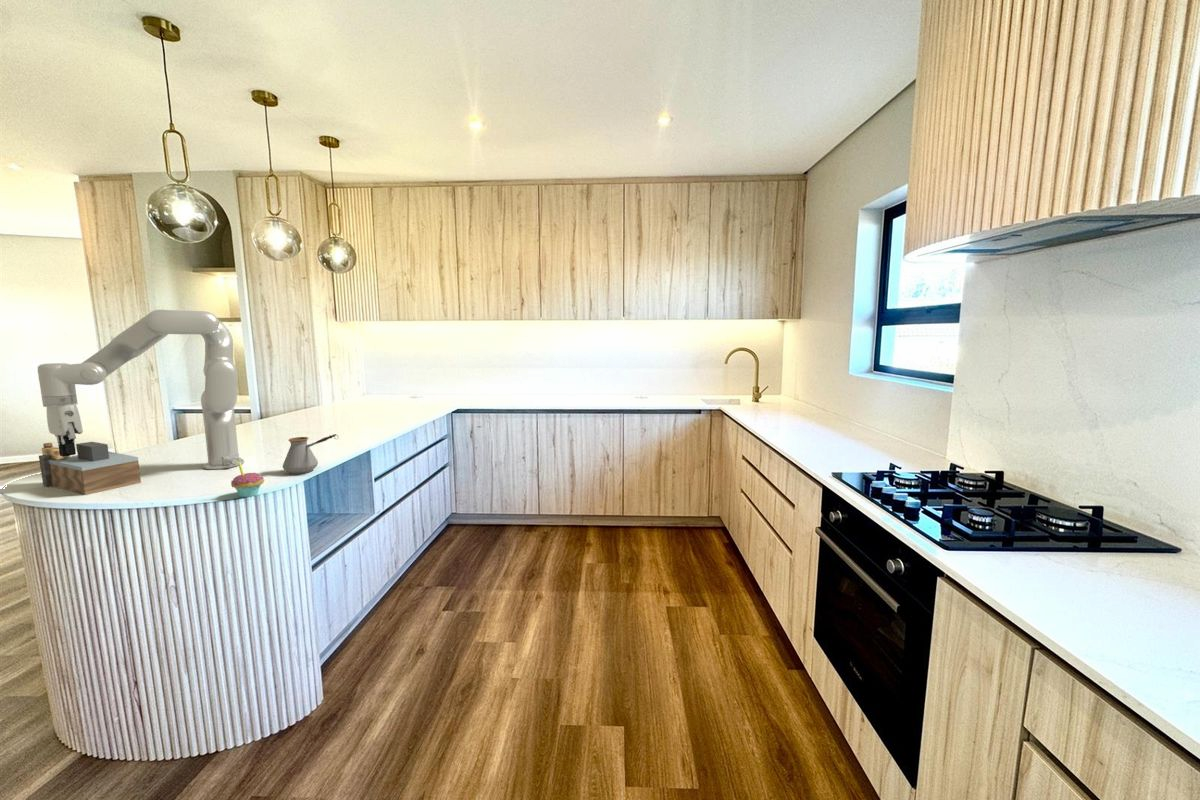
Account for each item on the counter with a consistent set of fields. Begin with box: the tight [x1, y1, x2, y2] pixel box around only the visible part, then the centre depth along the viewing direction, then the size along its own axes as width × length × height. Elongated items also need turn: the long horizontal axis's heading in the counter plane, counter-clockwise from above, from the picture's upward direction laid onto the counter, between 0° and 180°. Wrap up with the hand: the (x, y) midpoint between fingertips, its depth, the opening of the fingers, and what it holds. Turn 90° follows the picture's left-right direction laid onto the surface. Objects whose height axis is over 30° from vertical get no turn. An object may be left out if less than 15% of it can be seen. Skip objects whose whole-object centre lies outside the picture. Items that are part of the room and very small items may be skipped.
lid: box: [48, 441, 139, 471], centre depth 160 cm, size 22×14×7 cm, turn 68°
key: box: [41, 442, 68, 460], centre depth 160 cm, size 10×2×4 cm, turn 68°
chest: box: [38, 454, 142, 496], centre depth 161 cm, size 25×15×11 cm, turn 68°
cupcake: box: [230, 461, 265, 498], centre depth 152 cm, size 9×8×12 cm
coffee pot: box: [282, 433, 339, 475], centre depth 177 cm, size 21×12×15 cm, turn 85°
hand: (68, 455), depth 156 cm, fingers closed
